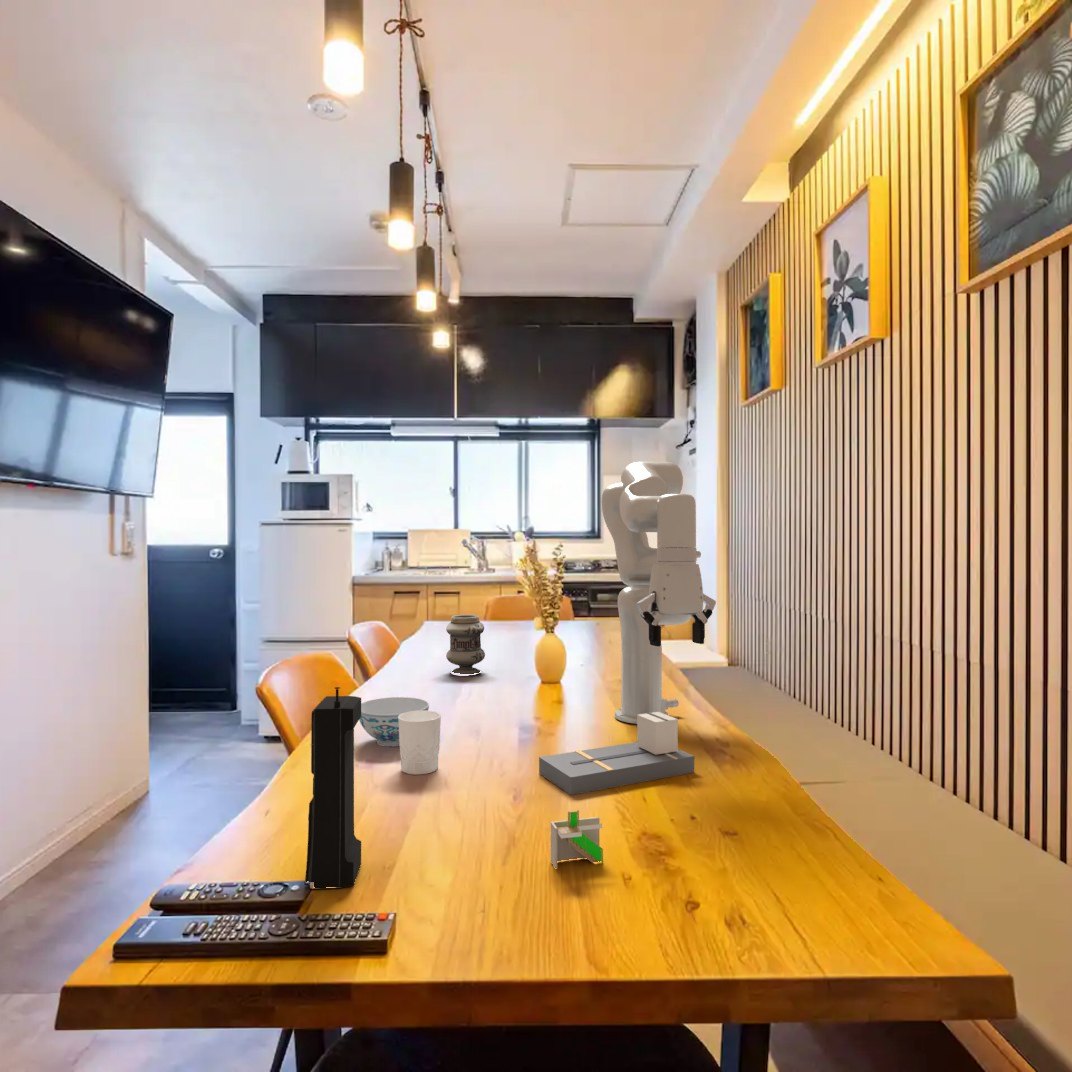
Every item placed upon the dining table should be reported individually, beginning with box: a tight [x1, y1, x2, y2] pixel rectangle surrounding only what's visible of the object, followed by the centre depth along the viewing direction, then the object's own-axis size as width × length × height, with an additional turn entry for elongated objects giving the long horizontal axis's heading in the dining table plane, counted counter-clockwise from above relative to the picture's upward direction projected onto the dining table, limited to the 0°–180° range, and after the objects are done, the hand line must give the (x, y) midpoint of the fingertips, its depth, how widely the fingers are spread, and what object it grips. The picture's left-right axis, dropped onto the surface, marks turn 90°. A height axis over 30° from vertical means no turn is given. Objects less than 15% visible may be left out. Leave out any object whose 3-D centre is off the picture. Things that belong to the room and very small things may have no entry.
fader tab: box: [636, 712, 679, 755], centre depth 136 cm, size 5×6×6 cm
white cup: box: [398, 710, 442, 776], centre depth 134 cm, size 8×8×10 cm
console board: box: [538, 741, 695, 796], centre depth 132 cm, size 26×12×3 cm, turn 116°
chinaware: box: [358, 696, 430, 747], centre depth 151 cm, size 15×15×8 cm
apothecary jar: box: [445, 614, 486, 674], centre depth 223 cm, size 12×12×18 cm
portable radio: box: [304, 686, 362, 888], centre depth 93 cm, size 8×6×25 cm
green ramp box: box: [550, 809, 604, 869], centre depth 95 cm, size 4×7×8 cm, turn 105°
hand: (677, 644), depth 140 cm, fingers open, 9 cm apart
